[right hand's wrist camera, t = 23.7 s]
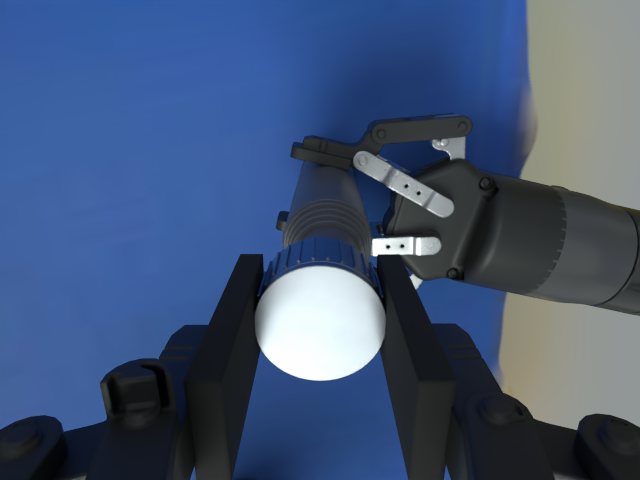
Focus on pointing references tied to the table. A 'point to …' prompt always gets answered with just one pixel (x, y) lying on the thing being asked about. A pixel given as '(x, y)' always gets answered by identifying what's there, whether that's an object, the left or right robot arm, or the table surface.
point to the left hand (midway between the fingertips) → (286, 186)
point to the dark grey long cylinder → (328, 208)
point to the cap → (320, 310)
